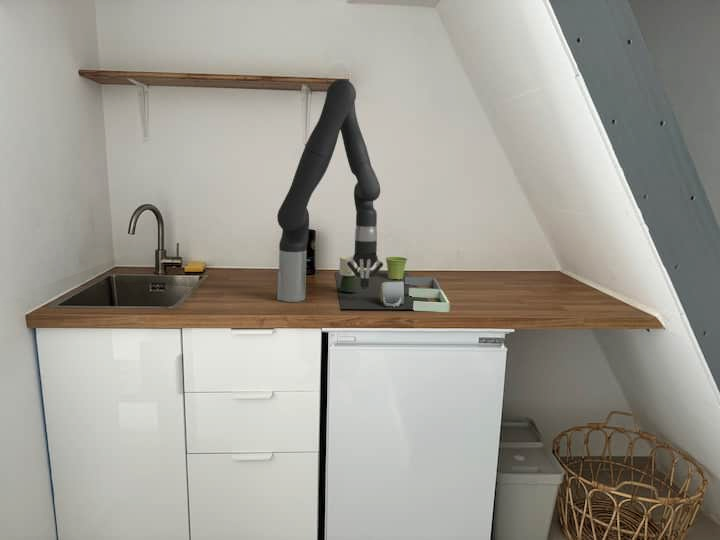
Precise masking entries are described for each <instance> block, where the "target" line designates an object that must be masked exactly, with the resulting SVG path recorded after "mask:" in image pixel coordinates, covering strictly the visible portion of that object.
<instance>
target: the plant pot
mask: <svg viewBox="0 0 720 540" xmlns="http://www.w3.org/2000/svg"><path fill="white" fill-rule="evenodd" d="M384 259H385V261H386V265H387V266H386V267H387V279H390V280H392V279H398V280H400V279H401V280H403V279H404V272H405V267H406V263H407V261H408V258H407V257H402V256H387V257H385V258H384Z"/></svg>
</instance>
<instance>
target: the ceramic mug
mask: <svg viewBox="0 0 720 540" xmlns="http://www.w3.org/2000/svg"><path fill="white" fill-rule="evenodd" d="M404 285H405V281H383V282H381V284H380V302H382V303H383V305H384V306H385V305H386V307H387V306H393V307H394V308H396V307H395V306H397V307H399V306H400V305H403V304H404V296H405V294H404V290H405V289H404V288H405V286H404ZM386 302H387V303H386Z"/></svg>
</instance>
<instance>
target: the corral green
mask: <svg viewBox="0 0 720 540" xmlns="http://www.w3.org/2000/svg"><path fill="white" fill-rule="evenodd" d="M414 288H415V287H408V294H409V296H412V297H411V298H426V299H427V298H429V299H430V298H431V299H439V300H440V302H437V301H419V300H418V301H416V300H413V302H412V303H413V305H412V306H413V307H412V311H413V310H414V312H415V311H417V312H438V313H450V307H451V302H450V301H449V299H448V298H447V296H446V295H445V293H444V291H443V289H442V290H435V289H434V288H430V289H414ZM409 296H408V297H409Z"/></svg>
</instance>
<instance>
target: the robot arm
mask: <svg viewBox="0 0 720 540" xmlns="http://www.w3.org/2000/svg"><path fill="white" fill-rule="evenodd" d="M356 92H357V91H356V88H355V86H354V85H353V84H352V82H350V81H349V80H348V79H343V78H341V79H337V80H334V81H332V82H331V83H330V84H329V86H328V88H327V90H326V96H325V100H324V103H323V107H322V109H321V114H320V115H319V118H318V121H317V123H316V125H315V126H314V127H313V130H312V132H311V134H310V136H309V137H308V140H307V141H306V144H305V146H304V148H303V151H302V154H301V156H300V159H299V162H298V165H297V167H296V171H295V173H294V176H293V179H292V182H291V186H290V188H289V190H288V191H287V193H286V196H285V198H284V200H283V201H282V203H281V205H280V207H279V208H278V211H277V216H276V218H277V219H276V220H277V222H278V223H277V224H278V225H279V227H280V228H281V229H282V230H281V232H282V234H281V238H280V240H279V246H278V249H279V251H278V259H279V260H278V272H277V294H276V295H277V299H276V300H277V301H282V302H289V303H296V302H302V301H305V300H306V290H307V289H306V288H307V287H306V285H307V284H306V283H307V282H306V281H307V280H306V279H307V252H308V250H307V246H308V241H309V236H310V235H309V234H310V233H309V231H310V213H309V210H308V208H307V207H308V206H309V201H310V199H311V196H312V195H313V193H314V191H315V190H316V188H317V186H318V185H319V184H320V182H321V181H322V179H323V177H324V176H325V174H326V172H327V170H328V168H329V165H330V162H331V160H332V157H333V154H334V153H335V152H334V151H335V149H336V146H337V141H338V138H339V135H340V133H341V137H342V142H343V146H344V151H345V154H346V155H345V156H346V158H347V162H348V166H349V168H350V171H351V173H352V175H354V176H355V178H356V180H357V182H356V183H355V185H354V188H353V197H354V199H353V200H354V207H355V211H356V212H355V213H356V214H355V217H356V218H355V229H354V230H355V231H354V253H353V255H352V257H353V259H352V260H350V261H348V262H347V265H348V266H349V267H350V269H351V270H352V271H353V273H354V274H355V277H358V278H360V285H359V286H360V287H361V289H363V290H367V288H369V285H370V284H369V283H370V278H373V277H375V275H376V274H377V273H378V272H379V271H380V270H381V269H382V267H383V266H384V262H383V261H381V260H379V258H378V255H377V251H378V250H377V248H378V247H377V245H378V241H377V240H378V231H377V229H378V227H377V223H378V220H377V218H378V216H377V215H378V214H377V213H378V212H377V210H376V209H375V207H374V201H376V200H377V199H378V198H380V194H381V185H380V182H379V180H378V177H377V175H376V172H375V171H374V169H373V166H372V164H371V163H372V162H371V159H370V156H369V151H368V148H367V145H366V143H365V139H364V136H363V134H362V131H361V129H360V125H359V122H358V118H357V112H356V106H355V105H356V103H355V102H356V98H357V93H356ZM354 261H355V263H356V264H357V266H358V267H359V272H358V271H357V269H356V268H355V267H354ZM374 266H375V267H374ZM372 267H374V269H373V270H372V272H371V270H370V269H372Z"/></svg>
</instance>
